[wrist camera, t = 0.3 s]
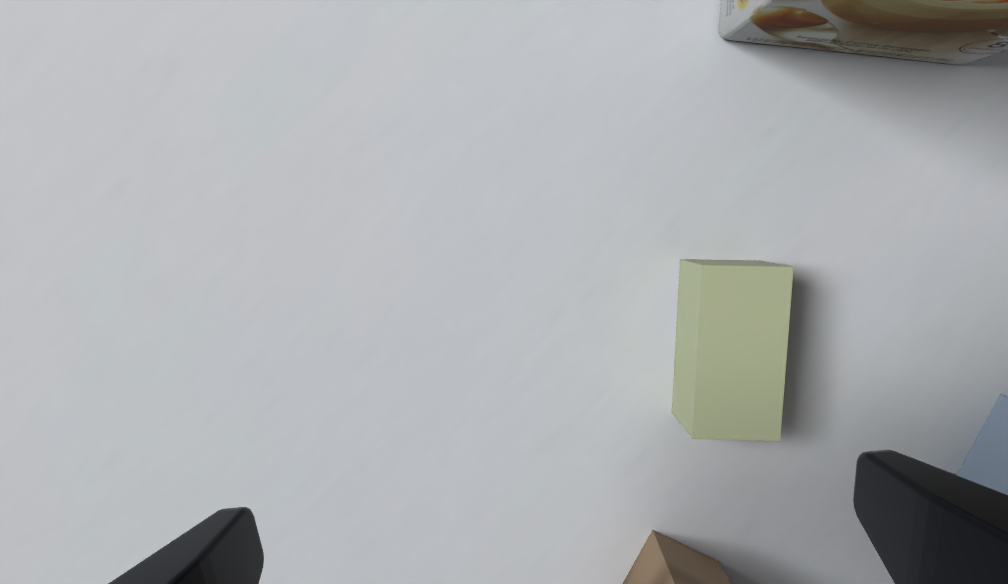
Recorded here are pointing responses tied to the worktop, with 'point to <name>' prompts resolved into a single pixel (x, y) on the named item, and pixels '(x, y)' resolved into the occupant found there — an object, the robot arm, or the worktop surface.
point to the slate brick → (990, 451)
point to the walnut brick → (673, 564)
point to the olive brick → (731, 348)
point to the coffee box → (874, 26)
